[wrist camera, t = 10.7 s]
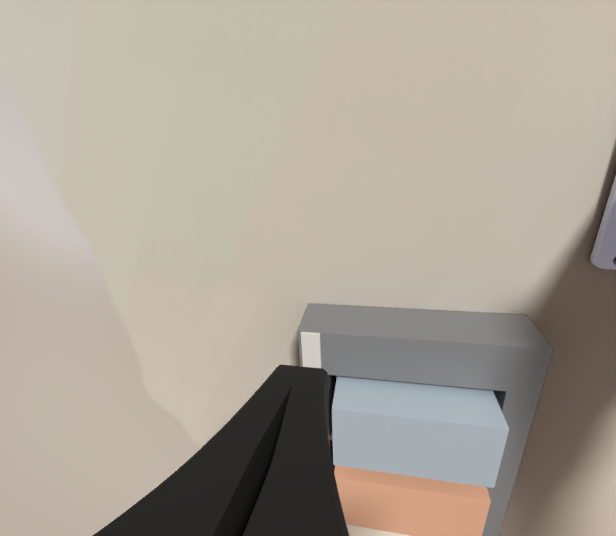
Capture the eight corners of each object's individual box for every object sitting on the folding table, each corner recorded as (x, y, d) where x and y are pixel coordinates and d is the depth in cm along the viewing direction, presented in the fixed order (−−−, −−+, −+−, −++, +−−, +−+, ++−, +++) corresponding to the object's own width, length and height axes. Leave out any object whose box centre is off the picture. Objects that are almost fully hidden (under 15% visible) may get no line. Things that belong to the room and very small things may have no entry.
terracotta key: (472, 437, 20) (490, 501, 17) (463, 481, 22) (478, 547, 18) (340, 421, 22) (333, 477, 18) (341, 463, 23) (334, 522, 20)
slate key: (484, 372, 18) (509, 429, 15) (474, 425, 20) (494, 488, 17) (339, 359, 20) (331, 409, 16) (340, 410, 21) (333, 464, 18)
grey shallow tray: (527, 314, 18) (555, 351, 15) (473, 538, 26) (485, 590, 23) (308, 303, 20) (297, 333, 17) (319, 512, 28) (313, 556, 25)
